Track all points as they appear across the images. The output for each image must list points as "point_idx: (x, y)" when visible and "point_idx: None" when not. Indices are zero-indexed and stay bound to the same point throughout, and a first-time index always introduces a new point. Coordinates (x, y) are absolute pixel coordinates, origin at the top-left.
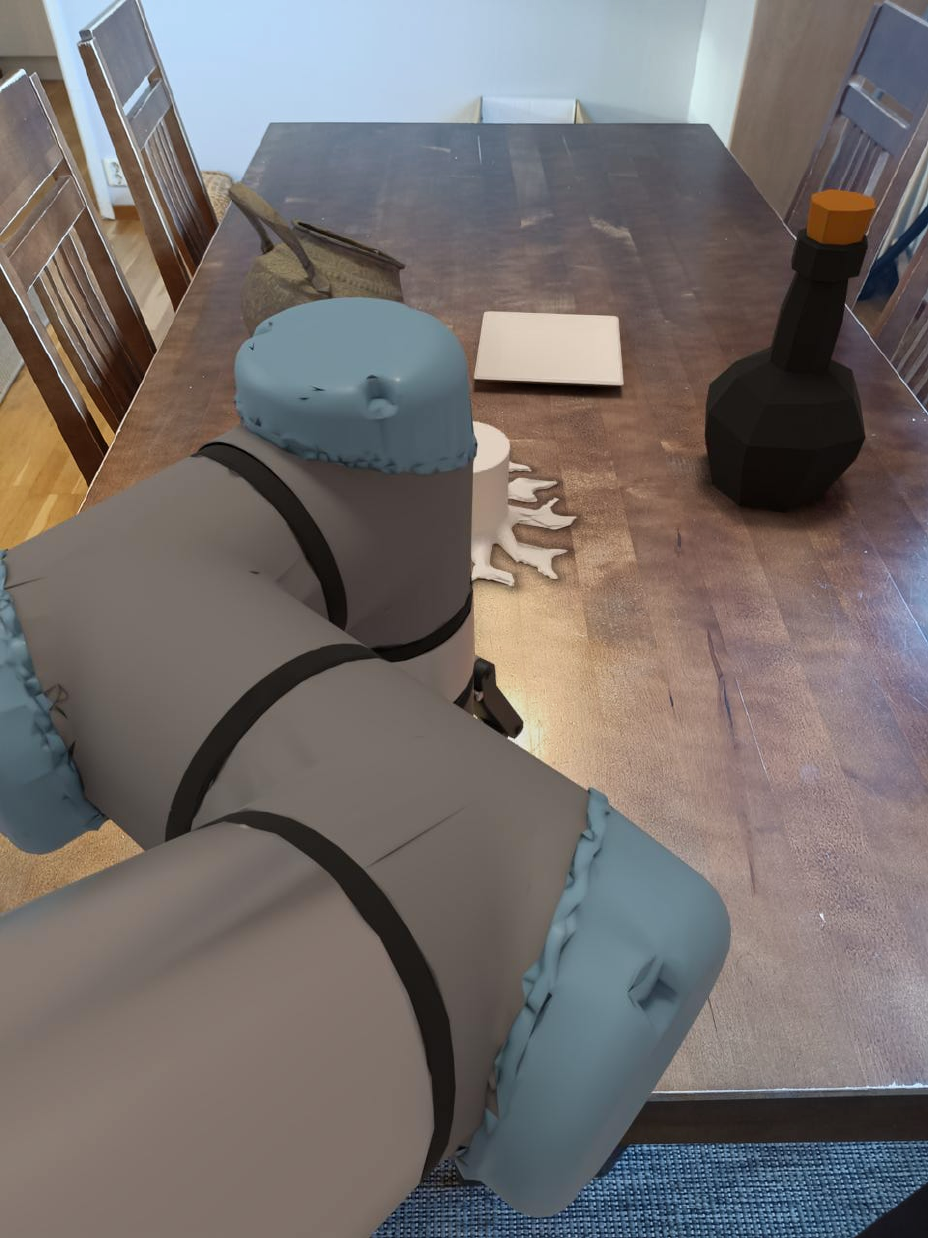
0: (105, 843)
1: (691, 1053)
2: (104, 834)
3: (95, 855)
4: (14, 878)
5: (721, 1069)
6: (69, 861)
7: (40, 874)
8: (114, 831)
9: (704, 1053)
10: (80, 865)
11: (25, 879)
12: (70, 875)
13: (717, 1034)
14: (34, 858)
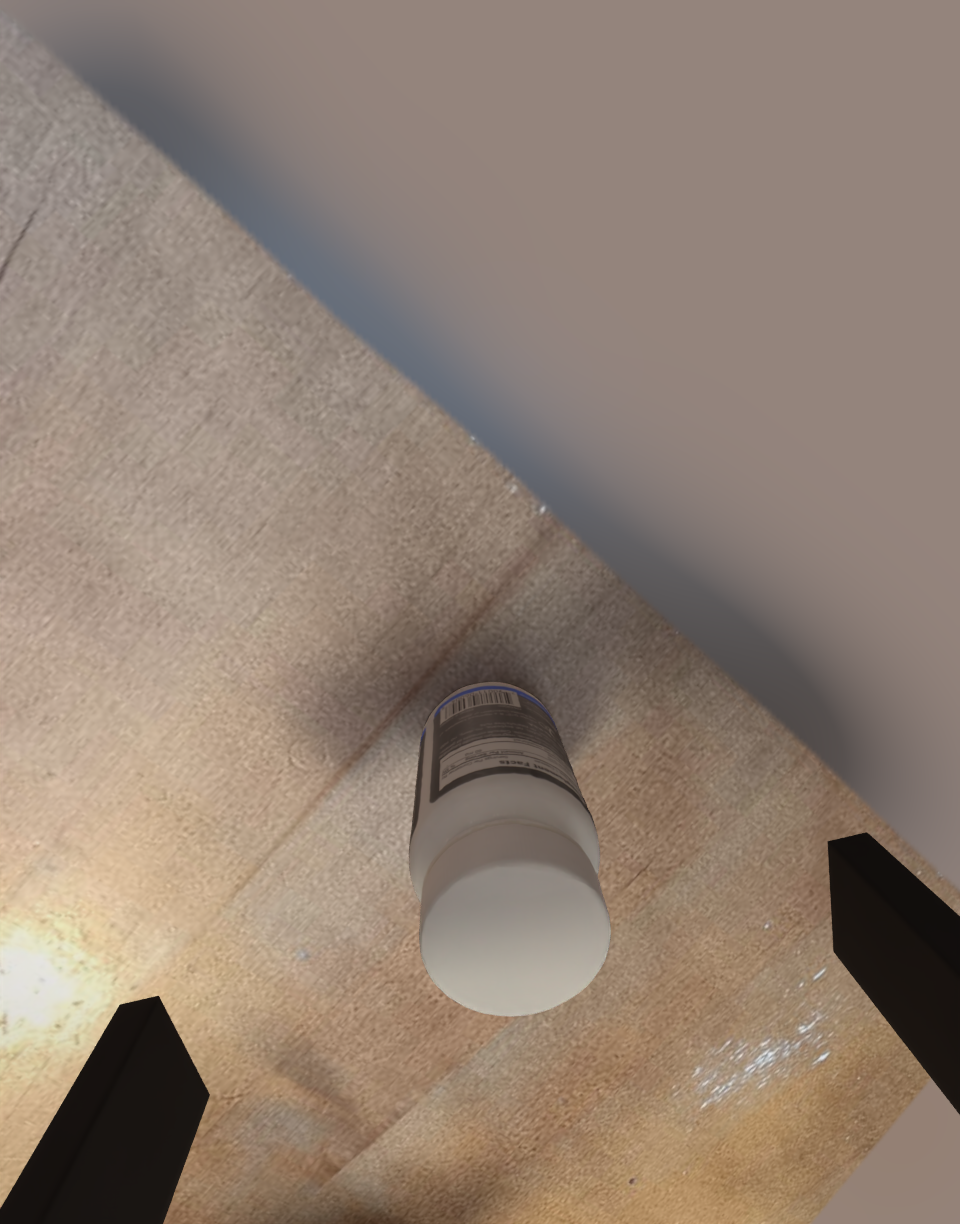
0: (709, 1176)
1: (127, 222)
2: (701, 1187)
3: (731, 1168)
4: (830, 1193)
5: (90, 138)
6: (763, 1178)
7: (803, 1181)
8: (688, 1184)
9: (99, 197)
10: (756, 1166)
11: (821, 1185)
12: (776, 1161)
13: (39, 202)
14: (793, 1203)
